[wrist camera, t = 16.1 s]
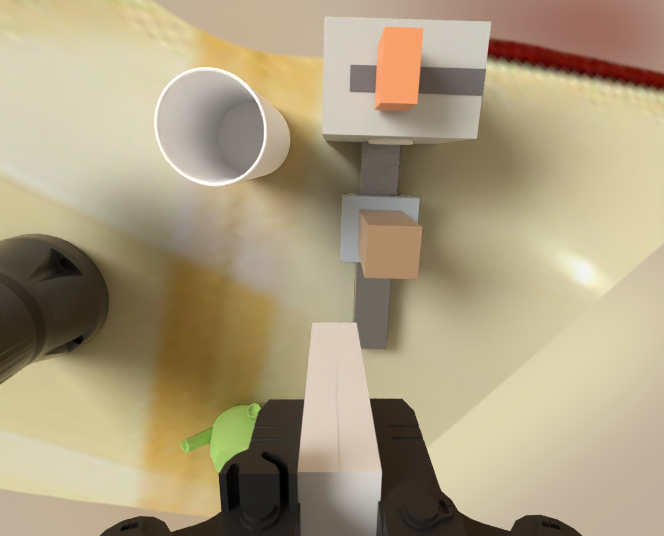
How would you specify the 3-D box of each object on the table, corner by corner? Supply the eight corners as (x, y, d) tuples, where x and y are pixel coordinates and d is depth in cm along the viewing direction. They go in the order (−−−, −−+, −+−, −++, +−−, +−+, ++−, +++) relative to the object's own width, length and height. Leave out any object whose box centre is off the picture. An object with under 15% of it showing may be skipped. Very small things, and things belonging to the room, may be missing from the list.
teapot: (237, 471, 56) (221, 524, 48) (193, 409, 53) (168, 454, 45) (306, 440, 55) (301, 490, 47) (264, 375, 52) (252, 415, 44)
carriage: (339, 253, 46) (342, 291, 33) (341, 192, 44) (345, 208, 31) (407, 255, 46) (437, 294, 33) (412, 194, 44) (446, 211, 31)
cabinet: (325, 144, 44) (321, 139, 30) (327, 61, 42) (324, 16, 28) (432, 148, 44) (476, 143, 31) (440, 65, 42) (491, 21, 28)
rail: (352, 338, 50) (353, 348, 48) (361, 142, 44) (362, 141, 42) (383, 339, 50) (385, 348, 48) (397, 143, 44) (400, 142, 42)
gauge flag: (374, 109, 30) (380, 102, 26) (377, 44, 28) (385, 26, 25) (406, 110, 30) (417, 103, 26) (411, 45, 28) (423, 28, 25)
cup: (305, 145, 44) (290, 138, 29) (250, 191, 45) (208, 209, 30) (256, 82, 42) (213, 39, 27) (201, 132, 44) (129, 119, 28)
